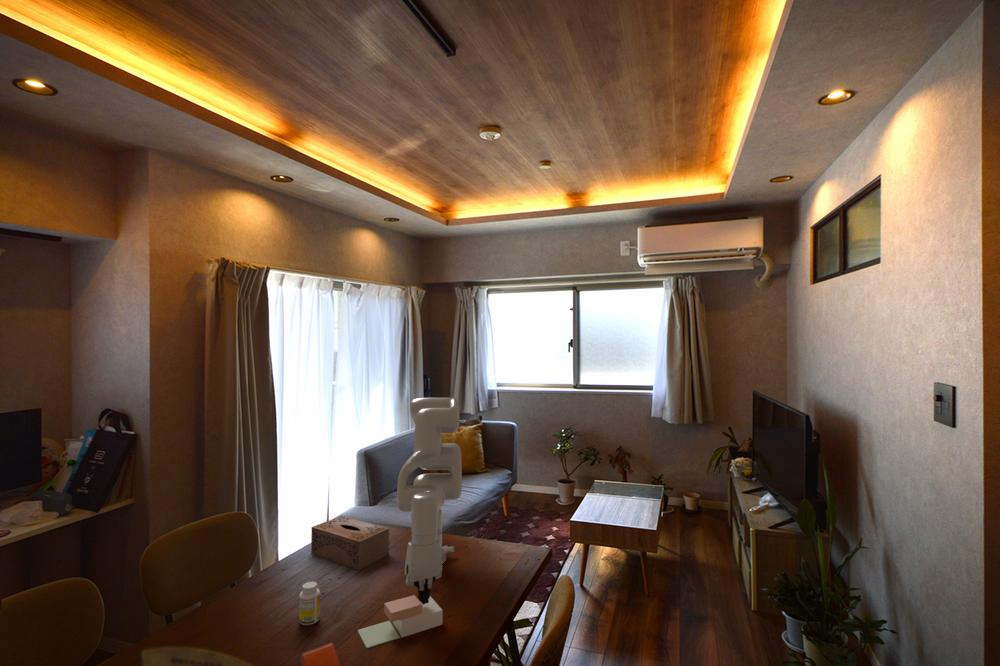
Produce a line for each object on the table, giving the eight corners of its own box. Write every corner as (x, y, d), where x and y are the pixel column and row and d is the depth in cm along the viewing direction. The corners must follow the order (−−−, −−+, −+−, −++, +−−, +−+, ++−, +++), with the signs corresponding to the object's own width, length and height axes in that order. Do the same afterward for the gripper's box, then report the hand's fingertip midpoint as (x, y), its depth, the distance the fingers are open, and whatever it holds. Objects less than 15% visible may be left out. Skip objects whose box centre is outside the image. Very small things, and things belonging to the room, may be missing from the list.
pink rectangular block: (414, 603, 142) (414, 595, 142) (422, 613, 137) (422, 604, 137) (384, 611, 138) (384, 603, 138) (391, 622, 132) (391, 613, 133)
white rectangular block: (430, 609, 146) (430, 595, 146) (442, 624, 139) (442, 610, 139) (390, 621, 140) (391, 607, 140) (401, 637, 133) (401, 622, 133)
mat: (389, 621, 140) (389, 620, 140) (399, 638, 132) (399, 636, 132) (357, 631, 135) (357, 629, 135) (366, 648, 128) (366, 647, 128)
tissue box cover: (388, 555, 184) (389, 528, 184) (359, 570, 172) (359, 541, 172) (341, 540, 197) (341, 515, 198) (311, 553, 185) (311, 527, 185)
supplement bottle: (313, 613, 144) (313, 578, 144) (323, 620, 141) (324, 584, 141) (295, 621, 140) (295, 585, 140) (305, 628, 136) (305, 591, 137)
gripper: (442, 528, 148) (442, 589, 148) (394, 538, 140) (394, 603, 140) (453, 536, 142) (453, 600, 141) (404, 547, 134) (403, 615, 133)
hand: (423, 601), depth 141 cm, fingers closed
